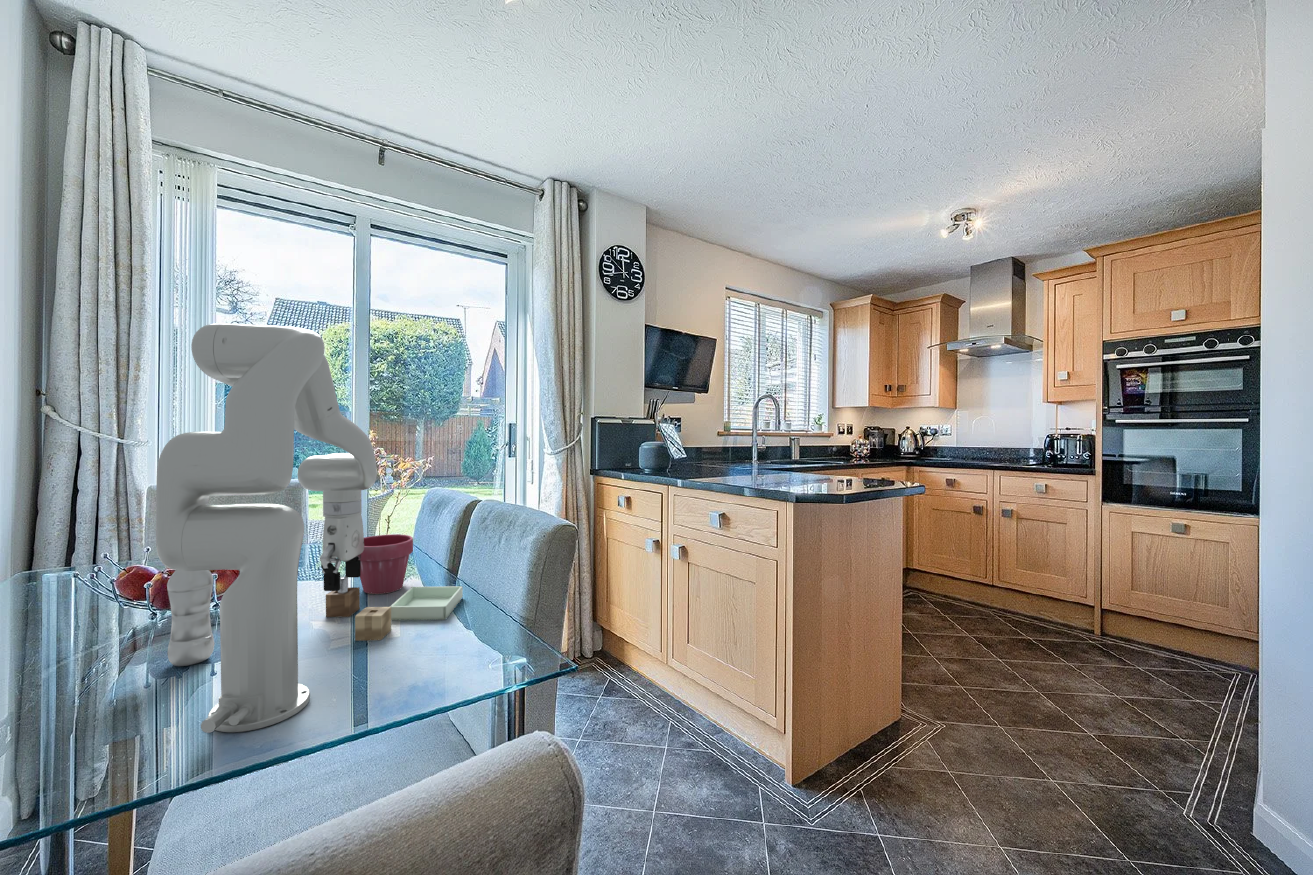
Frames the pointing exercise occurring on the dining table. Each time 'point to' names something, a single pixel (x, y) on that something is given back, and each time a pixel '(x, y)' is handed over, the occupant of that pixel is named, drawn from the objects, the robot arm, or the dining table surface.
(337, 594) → the walnut block
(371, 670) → the dining table surface
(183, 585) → the plastic bottle
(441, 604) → the tray
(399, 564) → the plant pot
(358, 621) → the oak block
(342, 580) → the pin
